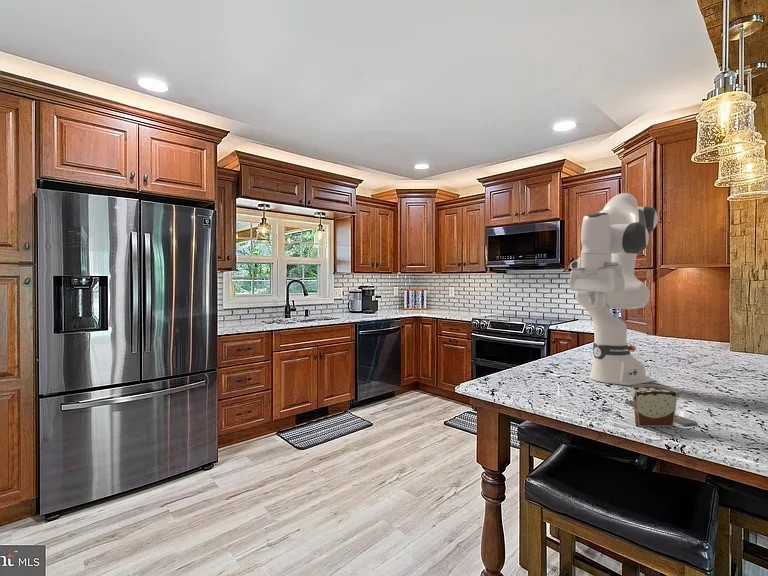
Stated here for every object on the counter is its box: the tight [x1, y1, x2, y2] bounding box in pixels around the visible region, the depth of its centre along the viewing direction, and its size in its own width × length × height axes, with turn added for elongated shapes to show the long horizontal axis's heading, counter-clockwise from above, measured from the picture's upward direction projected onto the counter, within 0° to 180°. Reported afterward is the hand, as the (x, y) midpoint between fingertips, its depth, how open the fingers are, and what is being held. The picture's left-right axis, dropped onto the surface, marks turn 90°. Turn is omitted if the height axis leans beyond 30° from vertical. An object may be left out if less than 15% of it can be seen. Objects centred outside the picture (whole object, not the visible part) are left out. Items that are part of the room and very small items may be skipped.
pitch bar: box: [624, 400, 698, 427], centre depth 119 cm, size 4×20×4 cm, turn 13°
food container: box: [629, 383, 680, 427], centre depth 112 cm, size 12×6×10 cm, turn 90°
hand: (595, 305), depth 130 cm, fingers closed
